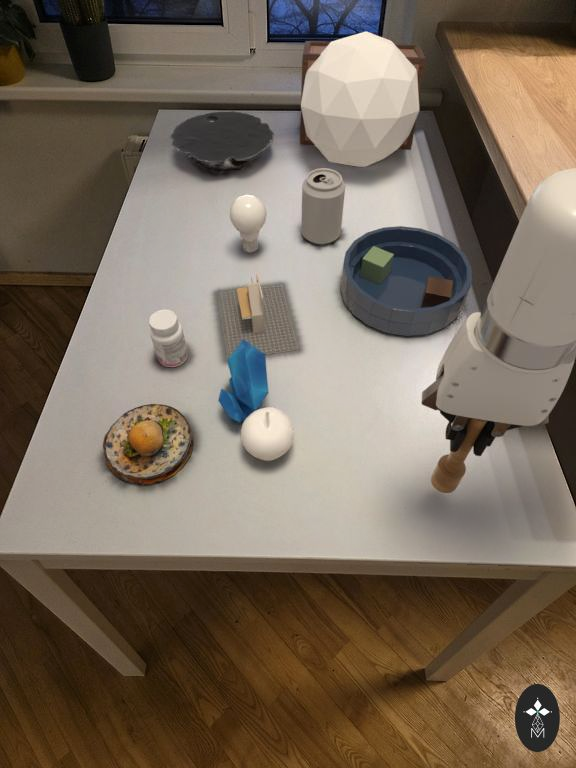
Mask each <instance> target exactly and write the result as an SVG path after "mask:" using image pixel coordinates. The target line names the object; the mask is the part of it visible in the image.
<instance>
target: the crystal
mask: <svg viewBox="0 0 576 768" xmlns="http://www.w3.org/2000/svg"><path fill="white" fill-rule="evenodd" d="M226 361H227V366H228V369H229V374H230V378H229V379H228V382H229V388H230V392H229V391H228V390H225V389H223V388H220V393H219V396H218V400H217V401H218V402H219V404H220V405H221V408H222V409H223V410H224V412H225V413H226V415H227V416H228V418H229V419H231V420H233V421H235V422H237V423H241V422H243V423H244V421H245V419H246V418H247V417H248V416H249V415H250V414H251V413H253V412H254V411H256V410H258V408H259V407H260V405H261V404H262V403H263V401H264V400H265V399H266V397H267V396H268V395H269V384H268V383H269V382H268V372H267V371H268V369H267V361H266V354H264V353H263V352H261V351H260V350H258V349H257V348H256V347H254V346H253V345H251V344H250V343H248V342H247V341H246V340H244V339H243V340H242V341H241V342H240V344H239V345H238V346H237V348H236V349H235V350H234V352H233V353H232V354H231V356H230V357H229V358H228V360H227V359H226Z"/></svg>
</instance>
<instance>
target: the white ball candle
mask: <svg viewBox="0 0 576 768" xmlns="http://www.w3.org/2000/svg"><path fill="white" fill-rule="evenodd" d="M294 431H295V430H294V426H293V422H292V421H291V418H290V417H289V416H288V415H287V414H286V413H284V412H283V411H282V410H280V409H279V408H276V407H273V406H271V407H270V406H268V407H262V408H259V409H258V408H257V410H256V411H254V412H253V413H251V414H250V415H249V416H248V417H247V418H246V419H245V421H244V422H243V423H242V425H241V430H240V439H241V443H242V445H243V447H244V449H245V450H246V451H247V453H249V454H250V455H251V456H252V457H254V458H257V459H258V460H261V461H265V462H271V461H275V460H277V459H279V458H281V457H282V456H283V455H285V454H286V453H287V452H288V451H289V450H290V449H291V446H292V445H293V441H294V439H295V437H294V436H295V432H294Z"/></svg>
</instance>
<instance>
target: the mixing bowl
mask: <svg viewBox="0 0 576 768" xmlns="http://www.w3.org/2000/svg"><path fill="white" fill-rule="evenodd" d="M373 246H375V247H377V248H380V249H382V250H385V251H387V252H390V253H392V254H394V257H393V262H392V267H391V271H390V273H389V274H388V276H387V277H386V278H385V279H384V280H383V282H382V283H381V284H380V285H379V284H377V283H374V282H372V281H370V280H367V279H365V278H363V277H360V272H361V265H362V258H363V257H364V256H365V255H366V254H367V253H368V252H369V250H370V249H371V248H372V247H373ZM341 274H342V275H341V281H340V291H341V294H342V295H341V296H342V300H343V303H344V304H345V305H346V307H347V308H348V310H349V311H350V312H351V313H352V315H353V316H354V317H356V318H357V319H359V320H360V321H361V322H362V323H364V324H365V325H367V326H368V327H371V328H373V329H376V330H378V331H380V332H383V333H387V334H391V335H399V336H406V337H411V336H421V335H422V336H423V335H428V334H433V333H434V332H437V331H440V330H442V329H445V328H446V327H448V326H449V325H450V324H451V323H453V321H455V320H456V319H457V318H458V317H459V314H460V312H461V310H462V308H463V306H464V304H465V302H466V298H467V296H468V293H469V290H470V289H471V285H472V283H473V268H472V265H471V263H470V261H469V259H468V257H467V255H466V253H465V252H464V251H462V250H461V248H459V247H458V245H456V244H455V243H454V241H453V242H452V241H451V240H449V239H448V238H446V237H444V236H443V235H441V234H439V233H436V232H433V231H430V230H427V229H423V228H420V227H413V226H412V227H411V226H402V225H399V226H398V225H397V226H386V227H381V228H377V229H373V230H371V231H368V232H365V233H363V234H362V235H361V236H360V237H358V238H356V239H355V240H354V241H353V242H352V243H351V244H350V245H349V247H348V248H347V250H346V251H345V254H344V260H343V265H342V273H341ZM429 276H431V277H436V278H442V279H447V280H452V281H453V286H452V292H451V298H450V301H448V302H445V303H442V304H440V305H437V306H434V307H427V308H421V305H422V300H423V295H424V291H425V287H426V284H427V280H428V277H429Z"/></svg>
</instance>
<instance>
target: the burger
mask: <svg viewBox="0 0 576 768" xmlns="http://www.w3.org/2000/svg"><path fill="white" fill-rule="evenodd" d="M193 448H194V433H193V430H192V427H191V426H190V423H189V422H188V419H187V418H186V416H185V415H184V413H182V412H180V411H179V410H178V409H176V408H175V407H173V406H170V405H167V404H159V403H158V404H157V403H149V404H143V405H140V406H137V407H134V408H132V409H129V410H128V411H126V412H124V413H123V414H122V415H121V416H120V417H119V418H118V419H117V420H116V421H115V422H114V423H113V424H112V425H110V427H109V429H108V430H107V432H106V433H105V435H104V438H103V441H102V449H103V451H104V458H105V460H106V462H107V466H108V467H109V469H110V470H111V471H112V473H113V474H114V475H115V476H116V477H117V478H118V479H121V480H122V481H123V482H130V483H137V484H140V485H152V484H154V483H155V482H163V481H165V480H168V479H169V478H171V477H172V476H174V475H175V474H177V473H178V472H179V471H180V470H181V469H182V468H183V467H184V466H185V465H186V463H187V462H188V461H189V458H190V456H191V455H192V452H193Z"/></svg>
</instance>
